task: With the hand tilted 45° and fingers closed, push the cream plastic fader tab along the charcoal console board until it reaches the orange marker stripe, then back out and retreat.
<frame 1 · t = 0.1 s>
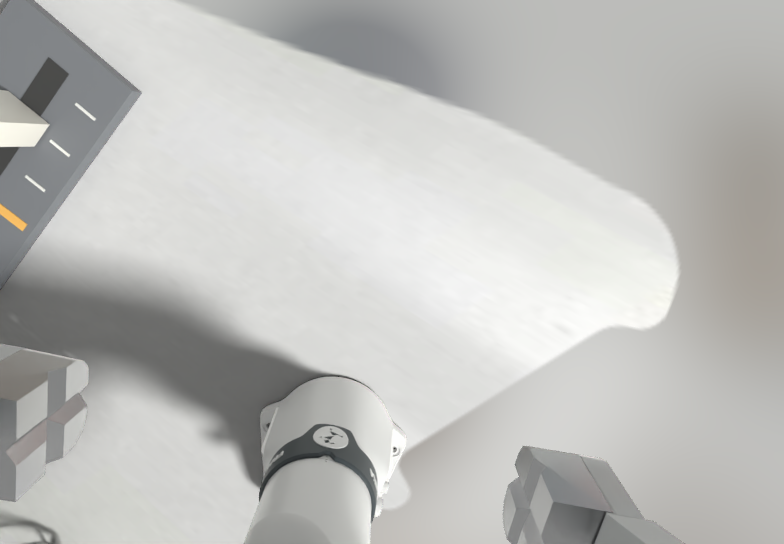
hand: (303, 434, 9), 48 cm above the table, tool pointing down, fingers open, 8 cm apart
console board: (13, 154, 55), on the table
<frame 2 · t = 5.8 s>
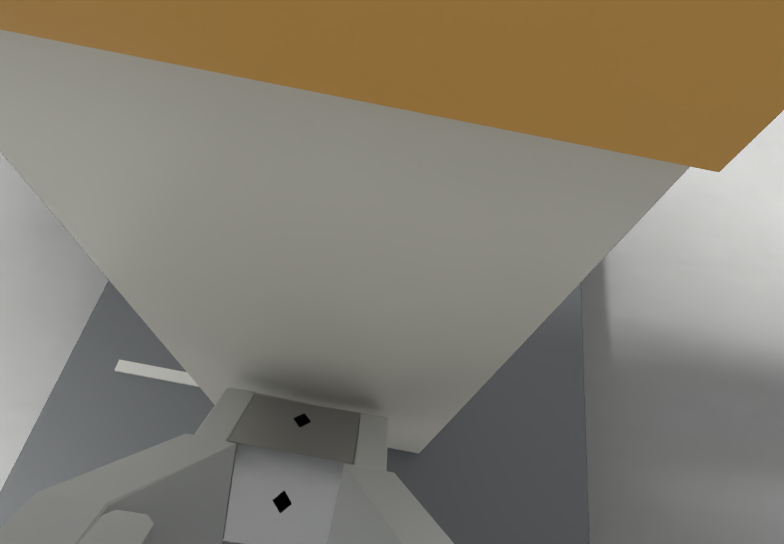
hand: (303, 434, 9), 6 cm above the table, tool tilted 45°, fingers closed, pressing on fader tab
fader tab: (336, 269, 8), point 8 cm above the table, slide at 0.7 cm, touching gripper
console board: (361, 279, 17), on the table
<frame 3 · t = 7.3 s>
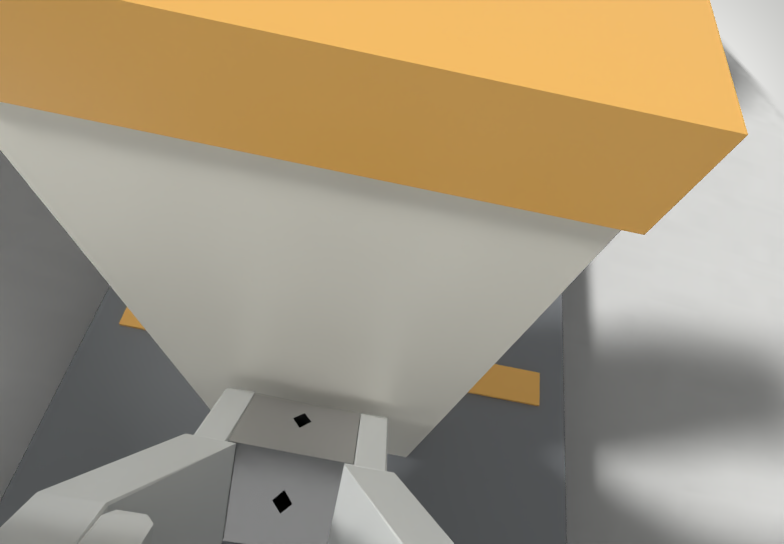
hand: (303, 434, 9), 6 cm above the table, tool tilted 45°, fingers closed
fader tab: (329, 287, 9), point 8 cm above the table, slide at 8.8 cm
console board: (295, 540, 14), on the table
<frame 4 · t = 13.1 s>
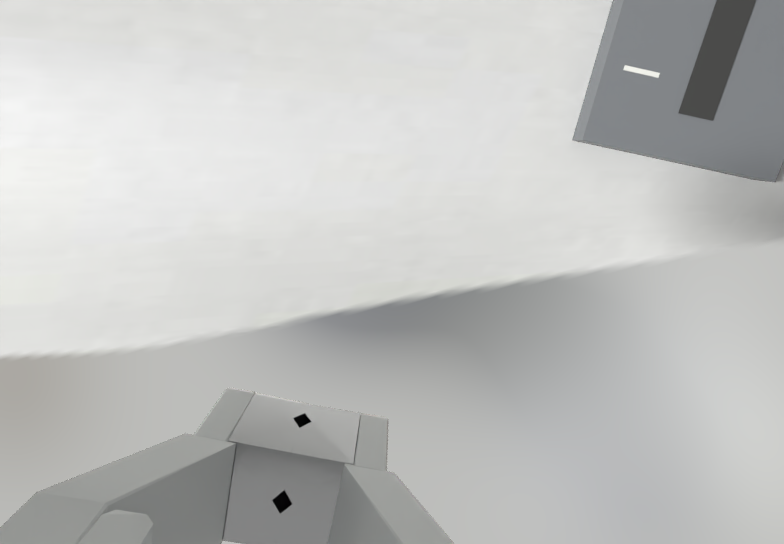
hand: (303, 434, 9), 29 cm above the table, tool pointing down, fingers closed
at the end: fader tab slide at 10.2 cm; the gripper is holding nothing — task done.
